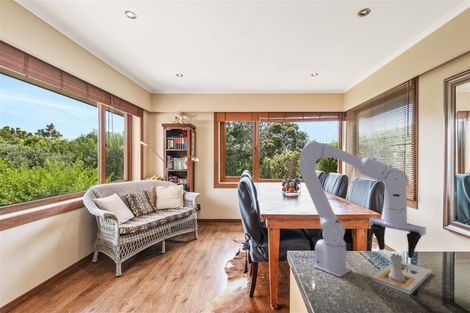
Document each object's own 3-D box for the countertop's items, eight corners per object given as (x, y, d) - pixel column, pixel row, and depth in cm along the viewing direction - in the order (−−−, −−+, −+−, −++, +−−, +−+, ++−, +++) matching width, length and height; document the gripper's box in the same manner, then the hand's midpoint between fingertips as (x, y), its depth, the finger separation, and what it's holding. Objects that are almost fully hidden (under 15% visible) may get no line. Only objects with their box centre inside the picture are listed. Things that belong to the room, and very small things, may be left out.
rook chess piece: (408, 286, 70) (407, 259, 71) (390, 284, 72) (390, 257, 72) (402, 279, 75) (402, 253, 75) (386, 277, 76) (385, 251, 76)
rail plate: (371, 280, 74) (371, 275, 74) (396, 263, 86) (395, 259, 86) (410, 294, 66) (410, 289, 66) (431, 273, 78) (431, 269, 78)
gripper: (428, 210, 70) (429, 257, 70) (375, 203, 82) (375, 243, 81) (421, 213, 66) (421, 263, 66) (365, 205, 77) (366, 248, 77)
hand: (395, 253), depth 73 cm, fingers open, 7 cm apart
